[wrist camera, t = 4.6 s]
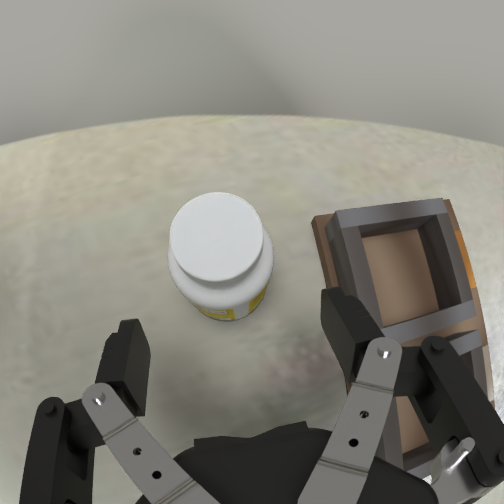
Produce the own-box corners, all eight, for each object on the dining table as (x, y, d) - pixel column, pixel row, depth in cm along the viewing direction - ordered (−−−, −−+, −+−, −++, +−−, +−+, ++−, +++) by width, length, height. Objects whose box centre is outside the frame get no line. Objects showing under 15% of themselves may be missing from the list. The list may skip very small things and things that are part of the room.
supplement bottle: (248, 236, 24) (255, 163, 14) (276, 305, 22) (303, 272, 13) (178, 260, 23) (140, 200, 14) (202, 332, 21) (174, 319, 12)
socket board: (361, 486, 18) (382, 507, 14) (311, 222, 24) (324, 197, 20) (487, 426, 19) (517, 431, 15) (442, 204, 25) (467, 183, 21)
